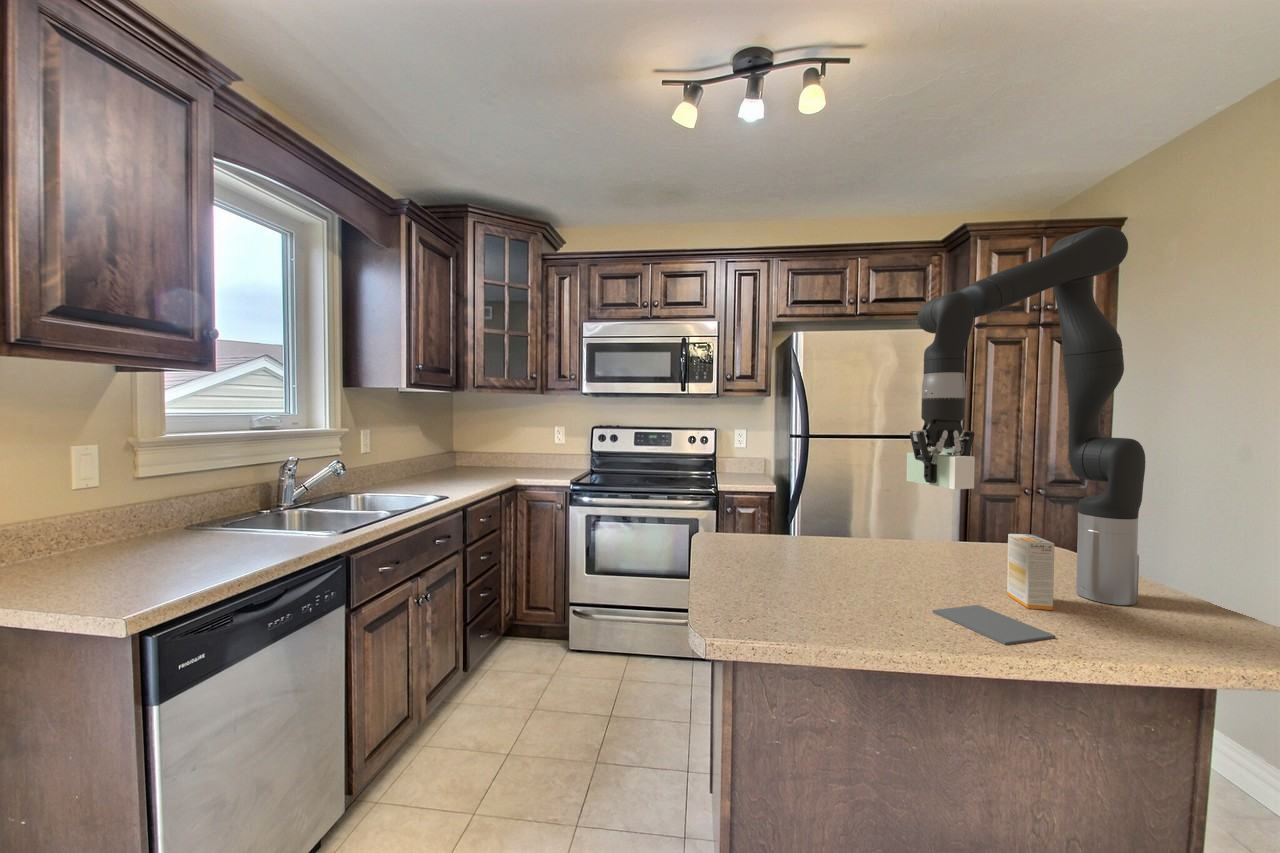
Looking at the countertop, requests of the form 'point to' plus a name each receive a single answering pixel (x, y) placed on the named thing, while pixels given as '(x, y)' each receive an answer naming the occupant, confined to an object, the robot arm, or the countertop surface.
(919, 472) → the sage block
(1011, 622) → the mat
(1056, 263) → the robot arm
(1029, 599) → the supplement box
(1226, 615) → the countertop surface
